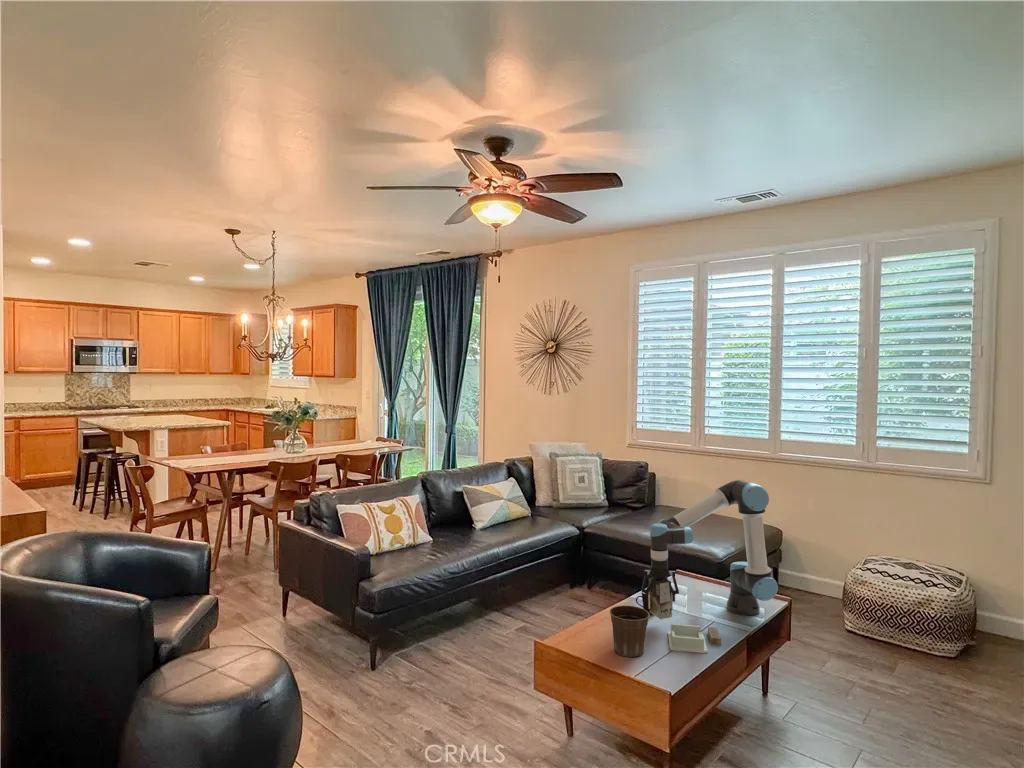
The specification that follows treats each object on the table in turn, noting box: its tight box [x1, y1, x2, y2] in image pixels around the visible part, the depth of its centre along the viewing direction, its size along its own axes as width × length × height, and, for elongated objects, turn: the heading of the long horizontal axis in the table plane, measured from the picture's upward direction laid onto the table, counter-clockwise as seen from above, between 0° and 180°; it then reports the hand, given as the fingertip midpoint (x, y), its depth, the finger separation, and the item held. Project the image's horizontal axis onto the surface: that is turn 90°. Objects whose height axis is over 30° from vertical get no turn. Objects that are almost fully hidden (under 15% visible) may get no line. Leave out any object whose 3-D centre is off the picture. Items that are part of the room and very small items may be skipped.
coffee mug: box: [635, 590, 654, 616], centre depth 293 cm, size 12×9×10 cm
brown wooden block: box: [707, 626, 722, 646], centre depth 263 cm, size 4×12×3 cm, turn 168°
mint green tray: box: [667, 623, 709, 654], centre depth 259 cm, size 15×17×5 cm
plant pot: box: [609, 605, 651, 658], centre depth 251 cm, size 16×16×16 cm
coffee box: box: [648, 577, 673, 620], centre depth 275 cm, size 9×6×16 cm
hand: (660, 608), depth 275 cm, fingers closed on coffee box, 9 cm apart
